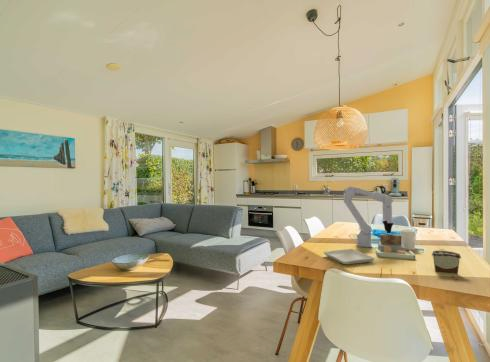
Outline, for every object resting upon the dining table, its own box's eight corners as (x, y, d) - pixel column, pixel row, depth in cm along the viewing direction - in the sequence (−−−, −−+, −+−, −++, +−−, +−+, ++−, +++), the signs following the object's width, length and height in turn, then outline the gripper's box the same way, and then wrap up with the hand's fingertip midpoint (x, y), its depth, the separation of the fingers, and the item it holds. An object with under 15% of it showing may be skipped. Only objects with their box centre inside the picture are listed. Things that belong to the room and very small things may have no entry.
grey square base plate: (380, 252, 176) (380, 245, 176) (378, 247, 188) (378, 241, 188) (405, 254, 171) (405, 247, 171) (401, 249, 183) (401, 243, 183)
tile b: (396, 250, 169) (396, 254, 169) (397, 251, 165) (397, 255, 165) (403, 250, 167) (403, 254, 167) (405, 252, 164) (405, 256, 164)
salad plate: (343, 267, 147) (343, 261, 147) (322, 256, 168) (322, 251, 168) (376, 263, 153) (376, 257, 153) (351, 254, 173) (351, 248, 173)
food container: (456, 270, 139) (456, 251, 139) (461, 274, 134) (461, 254, 134) (428, 268, 143) (428, 249, 143) (432, 272, 138) (432, 252, 138)
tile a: (383, 252, 173) (384, 253, 171) (383, 245, 173) (384, 246, 171) (390, 252, 172) (391, 253, 169) (390, 246, 172) (391, 247, 169)
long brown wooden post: (380, 243, 181) (380, 234, 181) (380, 242, 184) (380, 234, 184) (401, 245, 177) (401, 236, 177) (400, 244, 180) (400, 235, 180)
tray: (377, 256, 165) (377, 252, 165) (375, 251, 176) (375, 248, 176) (415, 259, 158) (415, 255, 158) (410, 254, 169) (410, 250, 169)
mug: (411, 245, 191) (411, 229, 191) (422, 248, 183) (422, 231, 183) (397, 247, 188) (397, 229, 188) (408, 250, 180) (407, 232, 180)
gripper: (395, 213, 181) (396, 234, 181) (392, 211, 195) (392, 230, 195) (383, 213, 184) (384, 233, 184) (381, 211, 197) (381, 229, 197)
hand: (387, 231), depth 189 cm, fingers open, 7 cm apart
